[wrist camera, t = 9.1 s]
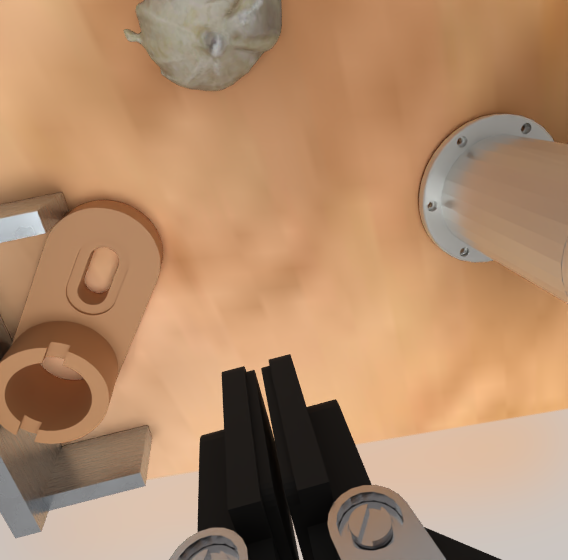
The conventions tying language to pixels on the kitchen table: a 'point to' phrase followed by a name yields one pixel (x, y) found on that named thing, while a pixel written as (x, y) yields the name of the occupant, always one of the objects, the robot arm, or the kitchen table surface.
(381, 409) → the kitchen table surface
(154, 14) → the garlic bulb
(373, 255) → the kitchen table surface
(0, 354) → the steel u-channel
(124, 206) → the bracket
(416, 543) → the robot arm
